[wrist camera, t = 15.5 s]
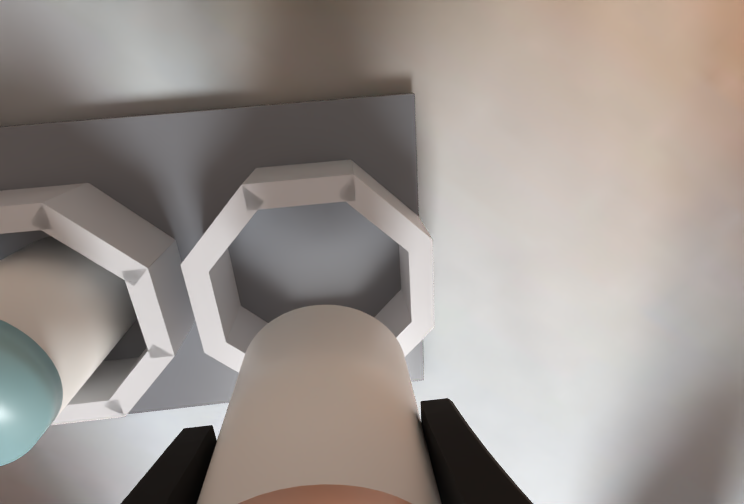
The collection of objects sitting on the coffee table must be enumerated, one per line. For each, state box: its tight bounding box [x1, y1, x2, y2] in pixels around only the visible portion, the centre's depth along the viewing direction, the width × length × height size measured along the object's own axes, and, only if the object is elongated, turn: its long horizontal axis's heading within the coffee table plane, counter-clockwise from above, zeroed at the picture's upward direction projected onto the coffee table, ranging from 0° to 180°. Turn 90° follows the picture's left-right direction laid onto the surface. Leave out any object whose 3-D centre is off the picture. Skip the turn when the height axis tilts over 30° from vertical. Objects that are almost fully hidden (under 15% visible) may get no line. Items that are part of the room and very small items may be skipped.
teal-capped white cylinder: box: [0, 236, 137, 466], centre depth 13 cm, size 4×4×6 cm
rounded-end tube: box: [197, 305, 442, 504], centre depth 9 cm, size 4×4×6 cm
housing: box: [0, 93, 435, 425], centre depth 15 cm, size 17×12×3 cm
